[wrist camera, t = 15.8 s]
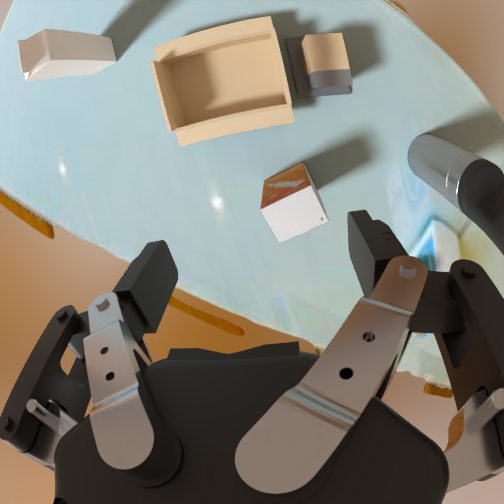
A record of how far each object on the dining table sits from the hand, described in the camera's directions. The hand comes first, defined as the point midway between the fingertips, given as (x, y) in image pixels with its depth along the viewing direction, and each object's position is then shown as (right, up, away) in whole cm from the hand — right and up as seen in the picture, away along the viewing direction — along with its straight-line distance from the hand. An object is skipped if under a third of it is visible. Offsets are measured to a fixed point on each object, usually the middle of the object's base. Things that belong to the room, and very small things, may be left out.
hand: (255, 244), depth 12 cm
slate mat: (+11, +30, +25) cm, 41 cm away
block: (+11, +30, +24) cm, 40 cm away
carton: (-4, +28, +28) cm, 40 cm away
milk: (-29, +37, +24) cm, 53 cm away
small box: (+7, +12, +38) cm, 40 cm away
